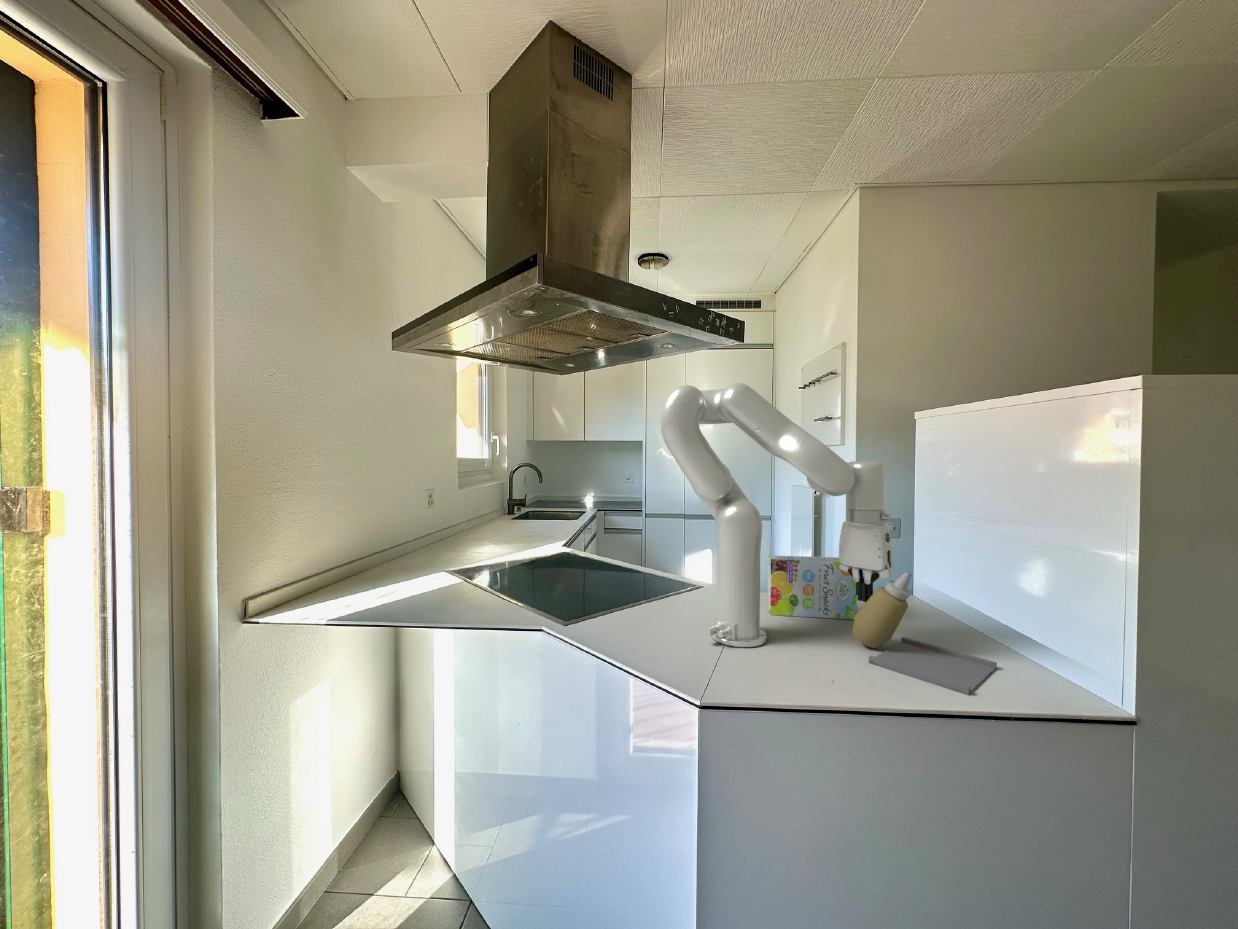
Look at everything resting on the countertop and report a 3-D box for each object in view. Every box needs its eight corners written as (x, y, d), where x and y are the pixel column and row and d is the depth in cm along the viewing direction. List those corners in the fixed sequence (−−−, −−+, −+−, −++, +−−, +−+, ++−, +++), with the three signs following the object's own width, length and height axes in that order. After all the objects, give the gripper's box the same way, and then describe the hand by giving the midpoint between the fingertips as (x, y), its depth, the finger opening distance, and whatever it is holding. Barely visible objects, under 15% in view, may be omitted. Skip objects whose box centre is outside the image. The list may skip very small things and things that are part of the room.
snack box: (850, 613, 129) (851, 557, 129) (857, 621, 124) (858, 561, 124) (767, 609, 133) (767, 553, 133) (769, 615, 128) (770, 558, 127)
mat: (968, 695, 86) (968, 688, 86) (868, 662, 99) (868, 656, 99) (996, 668, 97) (996, 662, 97) (903, 642, 110) (903, 637, 110)
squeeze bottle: (842, 620, 112) (883, 556, 106) (875, 634, 112) (918, 570, 105) (852, 643, 104) (897, 576, 98) (888, 658, 104) (935, 591, 98)
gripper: (908, 518, 104) (908, 604, 105) (839, 512, 116) (839, 590, 116) (893, 522, 100) (893, 612, 100) (823, 515, 111) (823, 596, 111)
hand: (864, 600), depth 108 cm, fingers closed
